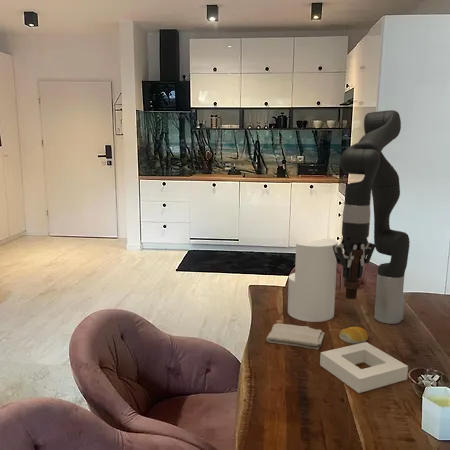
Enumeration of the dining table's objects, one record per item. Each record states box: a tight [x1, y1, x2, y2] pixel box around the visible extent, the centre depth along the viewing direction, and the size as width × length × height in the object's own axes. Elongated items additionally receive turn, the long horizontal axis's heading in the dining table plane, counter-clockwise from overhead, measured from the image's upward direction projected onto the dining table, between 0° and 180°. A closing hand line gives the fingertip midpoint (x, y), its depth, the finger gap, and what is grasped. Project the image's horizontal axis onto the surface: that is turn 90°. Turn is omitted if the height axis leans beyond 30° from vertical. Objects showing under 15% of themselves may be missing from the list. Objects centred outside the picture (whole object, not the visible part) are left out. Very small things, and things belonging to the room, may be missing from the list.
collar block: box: [319, 341, 409, 394], centre depth 137 cm, size 17×17×4 cm
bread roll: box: [338, 326, 369, 345], centre depth 159 cm, size 8×9×4 cm
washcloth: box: [266, 323, 325, 350], centre depth 159 cm, size 12×18×3 cm, turn 72°
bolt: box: [343, 249, 363, 300], centre depth 139 cm, size 6×5×15 cm
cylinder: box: [287, 237, 339, 323], centre depth 179 cm, size 17×17×28 cm
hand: (352, 278), depth 139 cm, fingers closed on bolt, 3 cm apart
